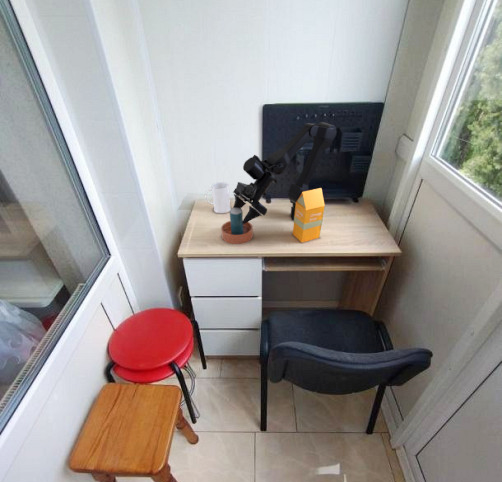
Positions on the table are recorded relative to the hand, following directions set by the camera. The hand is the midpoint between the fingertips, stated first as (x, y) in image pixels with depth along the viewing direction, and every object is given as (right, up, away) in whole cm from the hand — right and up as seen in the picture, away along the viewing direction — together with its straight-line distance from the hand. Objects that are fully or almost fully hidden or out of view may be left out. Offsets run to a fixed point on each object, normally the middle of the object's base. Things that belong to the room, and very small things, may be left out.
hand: (237, 218), depth 117 cm
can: (0, -6, +5) cm, 8 cm away
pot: (0, -6, +6) cm, 8 cm away
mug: (-10, +12, +25) cm, 29 cm away
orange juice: (+29, -6, +5) cm, 30 cm away
